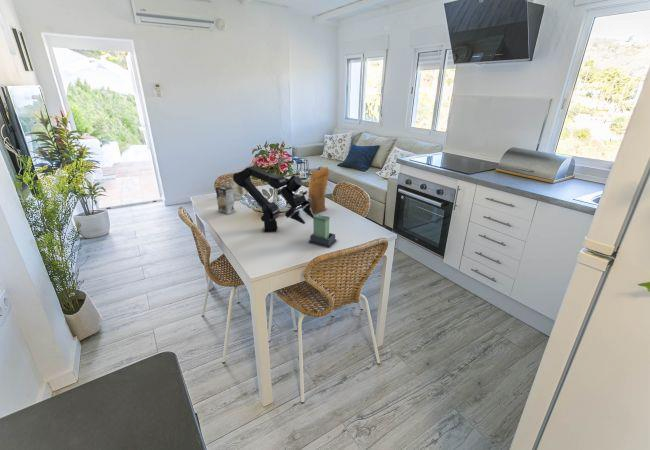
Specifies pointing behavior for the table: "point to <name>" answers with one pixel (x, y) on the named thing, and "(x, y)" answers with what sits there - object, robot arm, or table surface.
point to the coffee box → (225, 199)
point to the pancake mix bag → (318, 189)
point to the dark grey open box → (323, 240)
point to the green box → (321, 226)
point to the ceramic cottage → (237, 190)
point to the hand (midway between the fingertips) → (309, 220)
